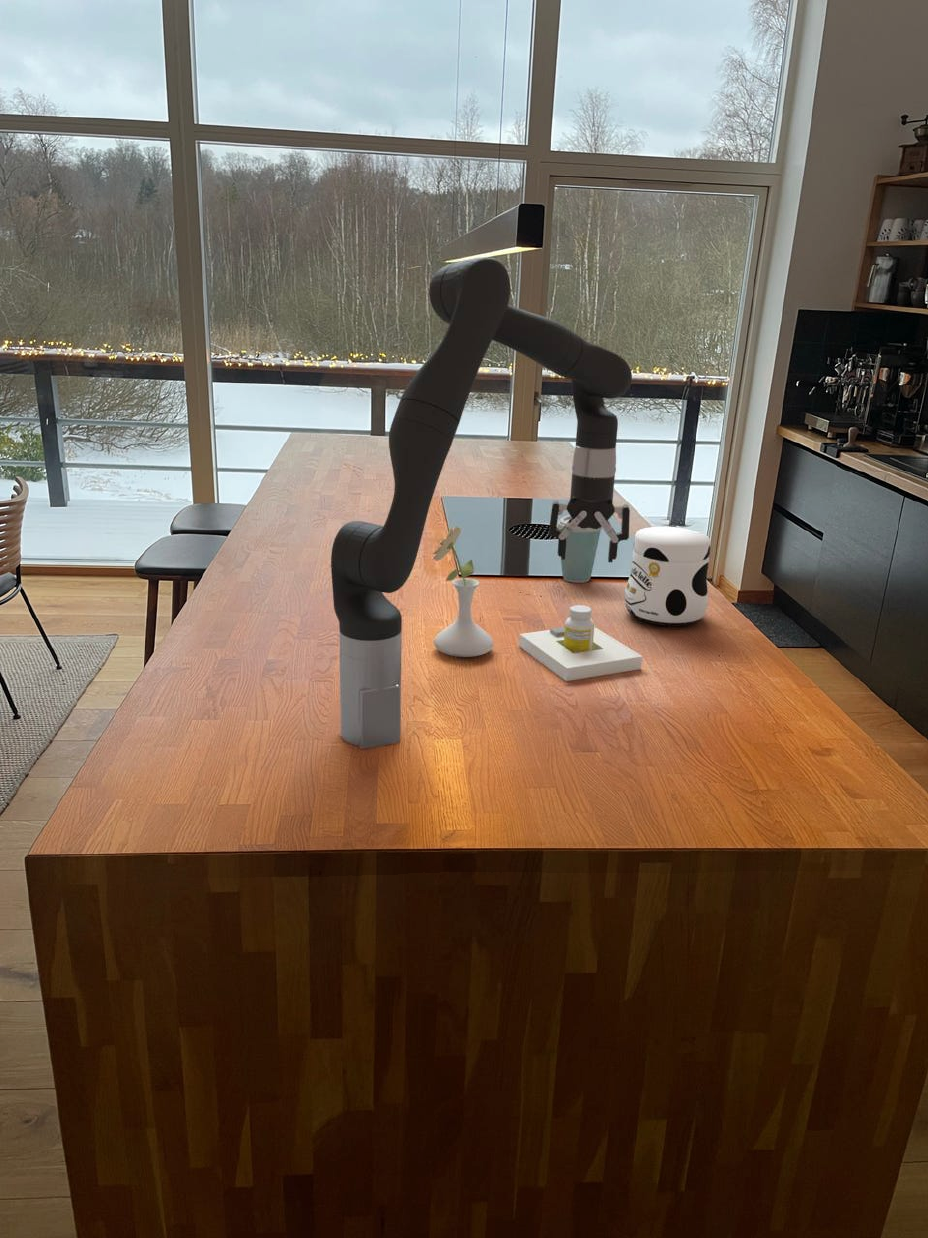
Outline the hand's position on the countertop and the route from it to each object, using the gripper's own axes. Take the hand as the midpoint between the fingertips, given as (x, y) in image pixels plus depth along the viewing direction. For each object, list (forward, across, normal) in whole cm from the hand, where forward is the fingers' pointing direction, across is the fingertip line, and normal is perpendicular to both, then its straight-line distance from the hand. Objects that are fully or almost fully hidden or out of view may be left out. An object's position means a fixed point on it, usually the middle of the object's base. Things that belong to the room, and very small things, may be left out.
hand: (586, 560), depth 172 cm
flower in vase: (+19, +22, +1) cm, 30 cm away
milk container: (+19, -19, -26) cm, 37 cm away
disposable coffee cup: (+19, 0, -50) cm, 53 cm away
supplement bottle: (+19, 0, 0) cm, 19 cm away
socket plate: (+19, 0, 0) cm, 19 cm away
